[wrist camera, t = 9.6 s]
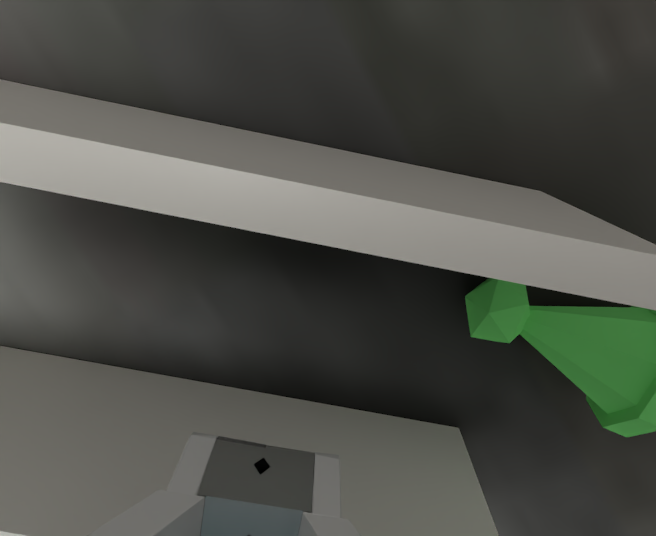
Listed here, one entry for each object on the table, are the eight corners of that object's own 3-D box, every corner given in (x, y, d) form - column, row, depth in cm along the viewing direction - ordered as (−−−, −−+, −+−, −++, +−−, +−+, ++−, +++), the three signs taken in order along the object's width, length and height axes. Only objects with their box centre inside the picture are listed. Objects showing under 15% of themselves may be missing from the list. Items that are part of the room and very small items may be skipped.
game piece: (617, 465, 15) (429, 387, 15) (600, 361, 18) (446, 300, 19) (724, 384, 12) (492, 292, 13) (682, 278, 15) (498, 209, 16)
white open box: (540, 190, 15) (695, 262, 9) (451, 449, 19) (514, 643, 12) (-85, 61, 14) (-441, 33, 8) (-64, 358, 18) (-303, 516, 11)
